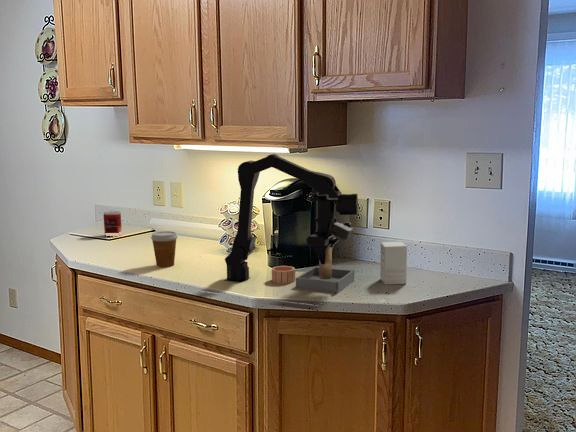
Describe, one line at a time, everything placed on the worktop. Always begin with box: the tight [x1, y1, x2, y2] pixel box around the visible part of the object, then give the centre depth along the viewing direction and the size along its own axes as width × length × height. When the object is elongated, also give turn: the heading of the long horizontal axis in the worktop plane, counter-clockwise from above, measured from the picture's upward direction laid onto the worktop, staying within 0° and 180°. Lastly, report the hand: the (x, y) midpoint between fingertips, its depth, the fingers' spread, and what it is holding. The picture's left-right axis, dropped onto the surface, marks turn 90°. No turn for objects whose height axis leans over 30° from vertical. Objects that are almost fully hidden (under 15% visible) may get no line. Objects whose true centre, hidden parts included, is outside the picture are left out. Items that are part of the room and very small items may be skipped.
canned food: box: [103, 210, 122, 234], centre depth 286 cm, size 8×8×11 cm
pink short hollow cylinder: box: [271, 265, 296, 285], centre depth 203 cm, size 8×8×4 cm
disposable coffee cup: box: [150, 230, 178, 268], centre depth 227 cm, size 10×10×12 cm
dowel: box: [318, 246, 333, 279], centre depth 198 cm, size 4×4×10 cm
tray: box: [295, 266, 355, 294], centre depth 199 cm, size 14×16×4 cm
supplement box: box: [379, 241, 408, 285], centre depth 202 cm, size 7×7×13 cm
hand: (325, 262), depth 198 cm, fingers closed on dowel, 4 cm apart
